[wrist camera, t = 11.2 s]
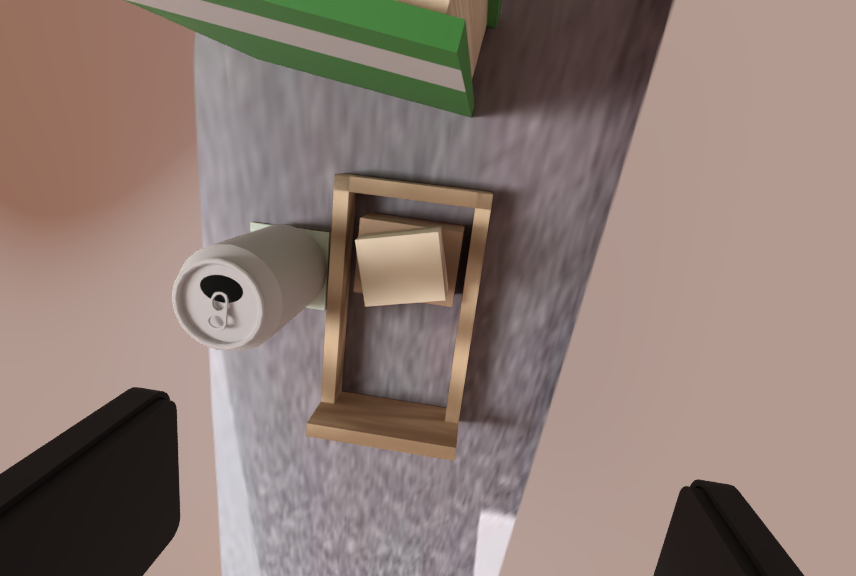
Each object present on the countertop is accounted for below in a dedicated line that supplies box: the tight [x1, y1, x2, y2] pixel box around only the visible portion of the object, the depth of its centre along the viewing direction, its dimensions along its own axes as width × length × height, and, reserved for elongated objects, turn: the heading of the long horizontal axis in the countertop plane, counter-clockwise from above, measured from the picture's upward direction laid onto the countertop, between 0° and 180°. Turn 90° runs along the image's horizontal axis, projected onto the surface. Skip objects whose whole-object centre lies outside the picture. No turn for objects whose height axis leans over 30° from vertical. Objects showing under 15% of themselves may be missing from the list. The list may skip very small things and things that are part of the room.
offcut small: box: [355, 226, 448, 307], centre depth 36 cm, size 5×6×3 cm
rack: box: [306, 173, 493, 461], centre depth 39 cm, size 21×12×6 cm, turn 173°
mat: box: [250, 222, 330, 310], centre depth 42 cm, size 7×7×1 cm
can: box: [172, 225, 327, 350], centre depth 36 cm, size 8×8×12 cm
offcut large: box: [354, 212, 465, 307], centre depth 39 cm, size 6×8×4 cm
